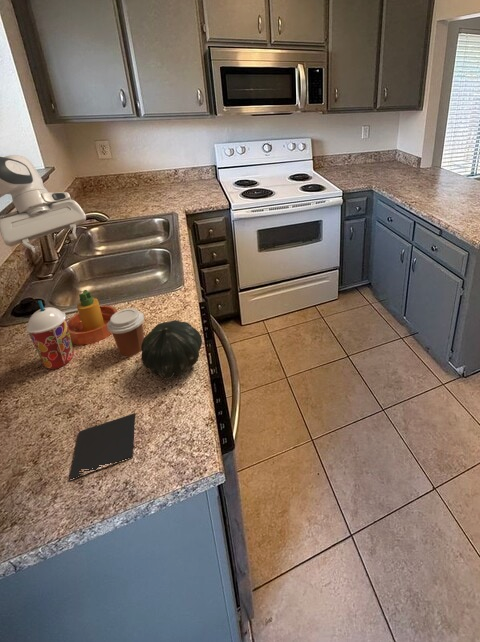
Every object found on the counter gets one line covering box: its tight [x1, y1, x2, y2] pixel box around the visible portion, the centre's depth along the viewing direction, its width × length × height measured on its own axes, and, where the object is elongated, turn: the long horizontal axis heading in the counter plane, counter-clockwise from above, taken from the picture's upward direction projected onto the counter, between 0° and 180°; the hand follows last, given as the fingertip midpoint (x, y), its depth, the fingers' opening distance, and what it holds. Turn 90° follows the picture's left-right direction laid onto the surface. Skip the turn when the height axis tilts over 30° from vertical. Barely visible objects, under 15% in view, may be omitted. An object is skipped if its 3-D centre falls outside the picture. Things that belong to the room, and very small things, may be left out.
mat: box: [68, 412, 136, 481], centre depth 76 cm, size 11×11×1 cm
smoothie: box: [25, 300, 75, 370], centre depth 94 cm, size 8×8×20 cm
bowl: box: [67, 304, 118, 346], centre depth 109 cm, size 13×13×4 cm
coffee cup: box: [107, 307, 145, 358], centre depth 100 cm, size 9×9×12 cm
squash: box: [141, 319, 203, 380], centre depth 95 cm, size 14×15×15 cm
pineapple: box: [76, 289, 105, 332], centre depth 107 cm, size 5×5×13 cm
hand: (56, 245), depth 104 cm, fingers open, 8 cm apart
